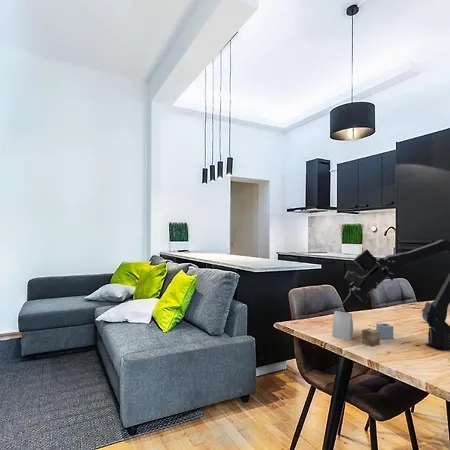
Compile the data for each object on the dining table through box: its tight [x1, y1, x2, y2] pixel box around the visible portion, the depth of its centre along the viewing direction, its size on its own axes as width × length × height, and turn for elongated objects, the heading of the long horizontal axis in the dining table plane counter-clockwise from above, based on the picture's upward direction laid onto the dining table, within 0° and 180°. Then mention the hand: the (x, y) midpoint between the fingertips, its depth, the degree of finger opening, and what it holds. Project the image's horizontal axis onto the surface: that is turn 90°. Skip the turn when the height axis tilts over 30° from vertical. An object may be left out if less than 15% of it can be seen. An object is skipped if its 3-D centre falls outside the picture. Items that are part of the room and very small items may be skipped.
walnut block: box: [361, 328, 381, 347], centre depth 123 cm, size 4×4×5 cm
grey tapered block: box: [332, 310, 354, 341], centre depth 130 cm, size 4×7×10 cm, turn 51°
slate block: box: [375, 323, 394, 340], centre depth 131 cm, size 4×4×5 cm
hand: (342, 305), depth 131 cm, fingers closed
